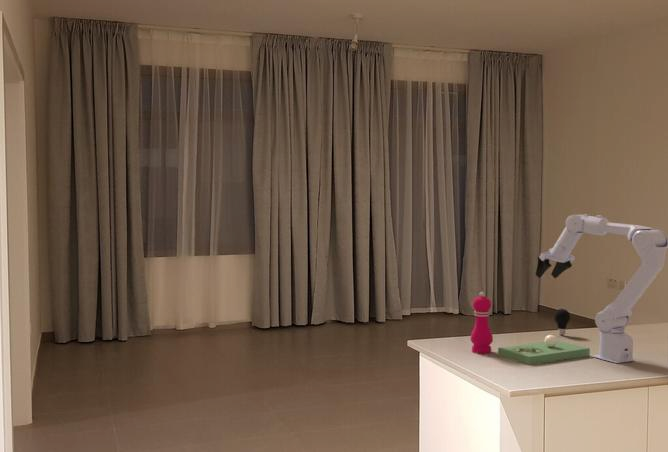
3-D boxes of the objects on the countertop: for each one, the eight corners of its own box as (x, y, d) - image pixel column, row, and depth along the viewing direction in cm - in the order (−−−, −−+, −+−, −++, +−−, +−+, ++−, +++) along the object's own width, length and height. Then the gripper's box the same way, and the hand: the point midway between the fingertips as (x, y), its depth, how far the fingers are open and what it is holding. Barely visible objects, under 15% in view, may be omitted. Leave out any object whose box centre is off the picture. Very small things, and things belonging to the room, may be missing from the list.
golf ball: (559, 347, 216) (560, 335, 216) (550, 348, 214) (551, 336, 214) (550, 345, 220) (550, 333, 219) (541, 346, 218) (541, 334, 218)
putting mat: (589, 355, 215) (589, 348, 215) (529, 364, 203) (529, 356, 203) (556, 347, 228) (556, 340, 228) (498, 355, 216) (498, 347, 216)
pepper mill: (493, 354, 217) (493, 293, 217) (470, 353, 219) (470, 293, 218) (492, 349, 224) (492, 290, 224) (470, 348, 226) (470, 290, 225)
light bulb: (567, 334, 251) (568, 307, 250) (571, 337, 245) (572, 310, 245) (551, 333, 251) (552, 307, 251) (555, 337, 245) (555, 310, 245)
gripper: (572, 239, 231) (553, 269, 238) (542, 237, 224) (523, 268, 231) (585, 251, 226) (565, 282, 233) (554, 249, 219) (535, 281, 226)
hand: (545, 276), depth 232 cm, fingers open, 7 cm apart
